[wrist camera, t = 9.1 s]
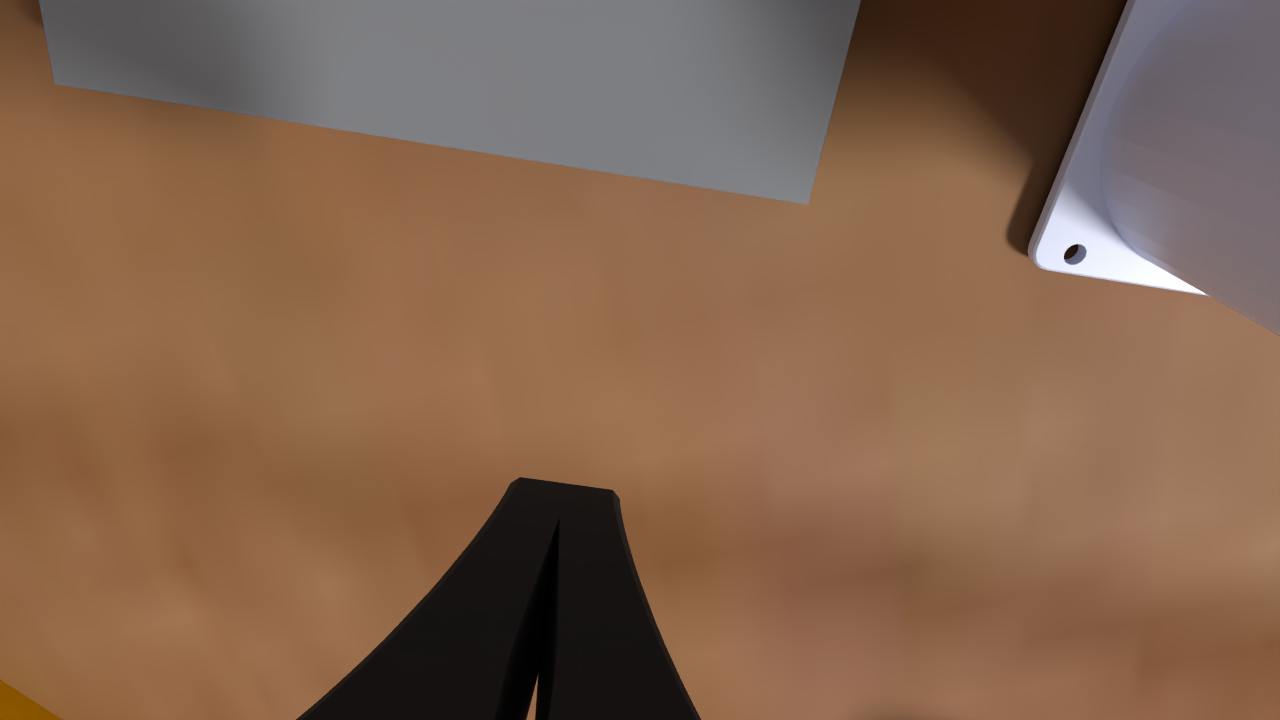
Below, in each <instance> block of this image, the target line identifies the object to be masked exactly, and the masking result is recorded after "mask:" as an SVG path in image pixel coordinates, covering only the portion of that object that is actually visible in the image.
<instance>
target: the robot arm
mask: <svg viewBox="0 0 1280 720" xmlns="http://www.w3.org/2000/svg"><path fill="white" fill-rule="evenodd" d="M1074 244H1078V251H1077V253H1076V254H1075V255H1074V256H1073V257H1071V258H1070V259H1064V253H1065V251H1066V250H1067V249H1068V248H1069V247H1070V246H1072V245H1074ZM1028 255H1029V259H1030V260H1031V261H1032V262H1033V263H1034V264H1035V265H1037V266H1038V267H1040V268H1042V269H1045V270H1049V271H1055V272H1062V273H1068V274H1074V275H1081V276H1087V277H1093V278H1100V279H1106V280H1112V281H1119V282H1125V283H1131V284H1138V285H1144V286H1150V287H1157V288H1163V289H1169V290H1175V291H1182V292H1188V293H1194V294H1201V295H1207V296H1210V297H1212V298H1214V299H1215V300H1217V301H1219V302H1221V303H1222V304H1224V305H1226V306H1228V307H1229V308H1231V309H1233V310H1235V311H1236V312H1238V313H1240V314H1242V315H1243V316H1245V317H1247V318H1249V319H1250V320H1252V321H1254V322H1256V323H1257V324H1259V325H1261V326H1263V327H1264V328H1266V329H1268V330H1270V331H1271V332H1273V333H1275V334H1277V335H1278V336H1280V0H1128V1H1127V3H1126V6H1125V8H1124V11H1123V13H1122V15H1121V18H1120V20H1119V23H1118V25H1117V28H1116V30H1115V33H1114V35H1113V38H1112V40H1111V43H1110V45H1109V48H1108V50H1107V53H1106V55H1105V57H1104V60H1103V62H1102V65H1101V67H1100V70H1099V72H1098V75H1097V77H1096V80H1095V82H1094V85H1093V87H1092V90H1091V92H1090V94H1089V97H1088V99H1087V102H1086V104H1085V107H1084V109H1083V112H1082V114H1081V117H1080V119H1079V122H1078V124H1077V127H1076V129H1075V131H1074V134H1073V136H1072V139H1071V141H1070V144H1069V146H1068V149H1067V151H1066V154H1065V156H1064V159H1063V161H1062V164H1061V166H1060V168H1059V171H1058V173H1057V176H1056V178H1055V181H1054V183H1053V186H1052V188H1051V191H1050V193H1049V196H1048V198H1047V201H1046V203H1045V205H1044V208H1043V210H1042V213H1041V215H1040V218H1039V220H1038V223H1037V225H1036V228H1035V230H1034V233H1033V235H1032V238H1031V240H1030V242H1029V246H1028ZM537 677H538V687H537V701H536V715H535V720H701V718H700V717H699V715H698V713H697V711H696V709H695V707H694V705H693V703H692V701H691V699H690V697H689V695H688V693H687V691H686V689H685V687H684V685H683V683H682V681H681V679H680V677H679V674H678V672H677V670H676V668H675V666H674V663H673V661H672V659H671V657H670V655H669V652H668V650H667V648H666V646H665V644H664V641H663V639H662V636H661V634H660V632H659V629H658V627H657V624H656V622H655V619H654V617H653V614H652V611H651V609H650V606H649V604H648V601H647V598H646V596H645V593H644V590H643V588H642V585H641V582H640V579H639V576H638V573H637V570H636V567H635V564H634V561H633V558H632V554H631V551H630V547H629V544H628V540H627V537H626V533H625V529H624V524H623V520H622V514H621V508H620V499H619V497H618V496H617V495H616V494H615V492H614V491H613V490H609V489H601V488H594V487H587V486H580V485H572V484H565V483H558V482H551V481H544V480H536V479H529V478H522V477H520V478H518V479H517V480H515V481H513V482H512V483H510V485H509V487H508V489H507V491H506V493H505V494H504V496H503V498H502V499H501V501H500V502H499V504H498V505H497V507H496V508H495V510H494V511H493V513H492V514H491V516H490V517H489V518H488V520H487V521H486V523H485V524H484V525H483V527H482V528H481V529H480V531H479V532H478V533H477V535H476V536H475V537H474V539H473V540H472V541H471V543H470V544H469V545H468V546H467V548H466V549H465V550H464V551H463V552H462V554H461V555H460V556H459V557H458V558H457V560H456V561H455V562H454V563H453V565H452V566H451V567H450V568H449V569H448V571H447V572H446V573H445V574H444V575H443V577H442V578H441V579H440V580H439V581H438V583H437V584H436V585H435V586H434V587H433V588H432V589H431V590H430V592H429V593H428V594H427V595H426V596H425V597H424V598H423V599H422V600H421V601H420V602H419V603H418V604H417V605H416V606H415V608H414V609H413V610H412V611H411V612H410V613H409V614H408V615H407V616H406V617H405V618H404V619H403V620H402V621H401V622H400V624H399V625H398V626H397V627H396V628H395V629H394V630H393V631H392V632H391V633H390V634H389V635H388V636H387V637H386V638H385V639H384V640H383V641H382V642H381V643H380V644H379V645H378V646H377V647H376V648H375V649H374V650H373V651H372V652H371V653H370V654H369V655H368V656H367V657H366V658H365V659H364V660H363V661H362V662H361V663H359V664H358V665H357V666H356V667H355V668H354V669H353V670H352V671H351V672H350V673H349V674H348V675H347V676H345V677H344V678H343V679H342V680H341V681H340V682H339V683H338V684H337V685H336V686H334V687H333V688H332V689H331V690H330V691H329V692H328V693H327V694H326V695H324V696H323V697H322V698H321V699H320V700H319V701H318V702H317V703H315V704H314V705H313V706H312V707H311V708H309V709H308V710H307V711H306V712H305V713H303V714H302V715H301V716H300V717H299V718H297V719H296V720H526V719H527V715H528V711H529V707H530V704H531V700H532V696H533V692H534V688H535V684H536V681H537Z"/></svg>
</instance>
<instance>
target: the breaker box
mask: <svg viewBox="0 0 1280 720" xmlns="http://www.w3.org/2000/svg"><path fill="white" fill-rule="evenodd" d="M860 2H861V0H39V4H40V9H41V15H42V20H43V25H44V30H45V36H46V41H47V46H48V51H49V57H50V62H51V67H52V73H53V78H54V83H55V84H57V85H63V86H69V87H76V88H82V89H88V90H94V91H101V92H107V93H113V94H119V95H126V96H132V97H138V98H144V99H151V100H157V101H163V102H169V103H176V104H182V105H188V106H194V107H201V108H207V109H213V110H219V111H226V112H232V113H238V114H244V115H251V116H257V117H263V118H269V119H276V120H282V121H288V122H294V123H301V124H307V125H313V126H319V127H326V128H332V129H338V130H345V131H351V132H357V133H363V134H370V135H376V136H382V137H388V138H395V139H401V140H407V141H413V142H420V143H426V144H432V145H438V146H445V147H451V148H457V149H463V150H470V151H476V152H482V153H488V154H495V155H501V156H507V157H513V158H520V159H526V160H532V161H538V162H545V163H551V164H557V165H563V166H570V167H576V168H582V169H588V170H595V171H601V172H607V173H613V174H620V175H626V176H632V177H638V178H645V179H651V180H657V181H663V182H670V183H676V184H682V185H688V186H695V187H701V188H707V189H713V190H720V191H726V192H732V193H738V194H745V195H751V196H757V197H763V198H770V199H776V200H782V201H788V202H795V203H801V204H807V205H808V202H809V198H810V194H811V191H812V187H813V183H814V179H815V175H816V171H817V168H818V164H819V160H820V156H821V152H822V148H823V144H824V141H825V137H826V133H827V129H828V125H829V121H830V117H831V114H832V110H833V106H834V102H835V98H836V94H837V90H838V87H839V83H840V79H841V75H842V71H843V67H844V63H845V60H846V56H847V52H848V48H849V44H850V40H851V37H852V33H853V29H854V25H855V21H856V17H857V13H858V10H859V6H860Z"/></svg>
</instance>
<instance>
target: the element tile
mask: <svg viewBox="0 0 1280 720" xmlns="http://www.w3.org/2000/svg"><path fill="white" fill-rule="evenodd" d="M0 720H62V719H60V718H59V717H57V716H55V715H54V714H52V713H51V712H49V711H48V710H46V709H45V708H43V707H42V706H40V705H38V704H37V703H35V702H34V701H32V700H31V699H29V698H28V697H26V696H24V695H23V694H21V693H20V692H18V691H17V690H15V689H14V688H12V687H11V686H9V685H7V684H6V683H4V682H3V681H1V680H0Z"/></svg>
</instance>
